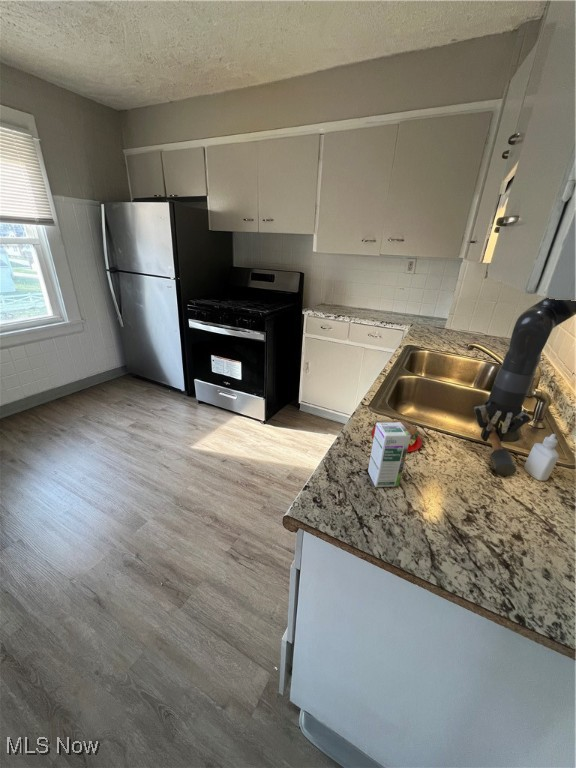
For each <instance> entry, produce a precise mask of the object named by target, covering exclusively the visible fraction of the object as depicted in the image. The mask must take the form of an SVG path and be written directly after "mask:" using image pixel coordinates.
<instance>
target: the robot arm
mask: <svg viewBox="0 0 576 768" xmlns="http://www.w3.org/2000/svg"><path fill="white" fill-rule="evenodd" d="M575 315H576V301H571V300H555V299H549V298H547V297H545V298H543V299H542V300H540V301H538V302H537V303H535V304H534V305H531V306H530V307H528V308H527V309H526V310H524V311H523V312H522V313H521V314H520V315H519V316H518V317H517V318H516V321H515V323H514V326H513V329H512V333H511V336H510V340H509V346H508V347H507V351H506V353H505V355H504V357H503V359H502V363H501V366H500V368H499V370H498V372H497V374H496V376H495V378H494V381H493V384H492V387H491V389H490V393H489V395H488V399H487V401H486V402H484V404H483V405H477V404H474V405H473V407H472V408H473V412H474V415H475V420H476V422H477V424H478V426H479V428H482V429H481V432H480V438H481V440H482V441H483V442H484V443H485V442H486V443H487V442H488V440H489V435H490V432H491V431H490V430H491V429H492V427H494V425H496V424H497V422H498V421H499V423H498V428H496V432H497V434H498V437H499V439H500V442H501V443H502V441H503V439H504V437H505V434H506V433H512V434H513V433H515V432H516V431H517V430H519V429H520V428H522V426H524V425H525V424H526V423H528V422H529V421H530V420H531V417H530V416H529V414H528V413H527V412H525V411H523V410H522V407H523V405H524V403H525V401H526V399H527V396H528V393H529V391H530V389H531V386H532V384H533V380H534V376H535V374H536V371H537V369H538V366H539V364H540V361H541V357H542V353H543V350H544V348H545V346H546V345H547V342H548V340H549V338H550V335H551V334H552V331H553V329H555V328H557V327H558V326H559V325H561V324H563V323H564V322H566V321H568V320H569V319H571V318H572V317H574V316H575ZM485 412H487V415H486V416H485V417H486V418H485V420H484V418H483V414H485Z"/></svg>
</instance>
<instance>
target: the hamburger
mask: <svg viewBox="0 0 576 768" xmlns="http://www.w3.org/2000/svg"><path fill="white" fill-rule="evenodd" d="M397 422H401V424H402V425H403V426H404V427H405V428H406V429H407V431H408V432H409V434H410V441H409V445H408V449H407V453H410V452H415V451H417V450H419V449H420V448H421V447H422V445H423V440H422V438H421V436H420V435H419V431H418V429H417V427H416V426H415V425H413V424H412V423H411V422H408V421H407V420H403V419H396V420H393V421H392V422H391V423H397ZM375 428H376V426H374V427H373V428H372V430H371V436H372V438H373V439H374V434H375Z"/></svg>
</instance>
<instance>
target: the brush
mask: <svg viewBox="0 0 576 768" xmlns="http://www.w3.org/2000/svg"><path fill="white" fill-rule="evenodd" d="M496 430H497V428H496V427H495V426H493V427H492V429H491V430H490V431H491V432H490V435H489V437H488V440H489V441H490V444H491V447H492V450H493V451H491V452H490V459H491V462H492V466H493V469H494V471H495V473H496V474H497V475H499V476H501V477H509V476H512V475H514V474H516V472H517V467H516V465H515V462H514V458H513V457H512V454H511V452H510V451H509V450H507V449H504V447H503V445H502V441H501V442H500V439H499V437H498V434H497V432H496Z"/></svg>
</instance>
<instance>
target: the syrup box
mask: <svg viewBox="0 0 576 768" xmlns="http://www.w3.org/2000/svg"><path fill="white" fill-rule="evenodd" d="M375 427H376V428H375V434H374V438H373V440H372V444H371V445H372V446H371V451H370V457H369V463H368V469H367V472H368V474H369V476H370V479H371V481H372V483H373V485H374V487H375V488H388V487H389V488H390V487H391V488H392V487H399V486H400V482H401V479H402V474H403V471H404V470H403V469H404V465H405V461H406V457H407V454H408V452H407V449H408V445H409V441H410V434H409V432H408V431H407V429H406V428H405V427H404V426H403V425H402V424H401V422H397V423H392V422H380V421H379V422H376V423H375Z"/></svg>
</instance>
